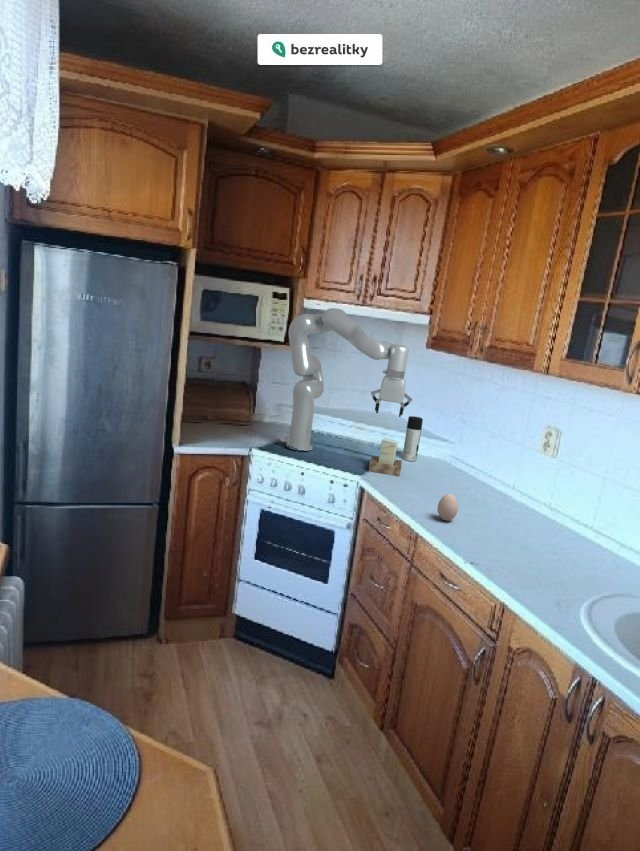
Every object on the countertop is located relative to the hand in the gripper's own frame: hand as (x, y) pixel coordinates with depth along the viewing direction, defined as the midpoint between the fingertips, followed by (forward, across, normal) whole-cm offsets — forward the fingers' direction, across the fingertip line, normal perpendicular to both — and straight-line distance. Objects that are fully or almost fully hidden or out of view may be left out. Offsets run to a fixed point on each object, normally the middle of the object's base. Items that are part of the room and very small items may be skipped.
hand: (388, 414), depth 241 cm
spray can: (+23, +12, +21) cm, 34 cm away
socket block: (+23, +3, -3) cm, 23 cm away
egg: (+23, +27, -52) cm, 63 cm away
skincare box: (+22, +3, -3) cm, 23 cm away
